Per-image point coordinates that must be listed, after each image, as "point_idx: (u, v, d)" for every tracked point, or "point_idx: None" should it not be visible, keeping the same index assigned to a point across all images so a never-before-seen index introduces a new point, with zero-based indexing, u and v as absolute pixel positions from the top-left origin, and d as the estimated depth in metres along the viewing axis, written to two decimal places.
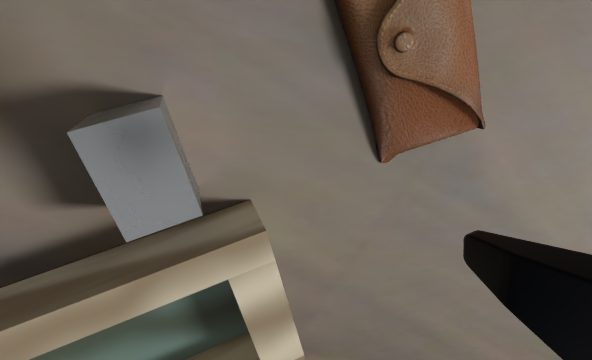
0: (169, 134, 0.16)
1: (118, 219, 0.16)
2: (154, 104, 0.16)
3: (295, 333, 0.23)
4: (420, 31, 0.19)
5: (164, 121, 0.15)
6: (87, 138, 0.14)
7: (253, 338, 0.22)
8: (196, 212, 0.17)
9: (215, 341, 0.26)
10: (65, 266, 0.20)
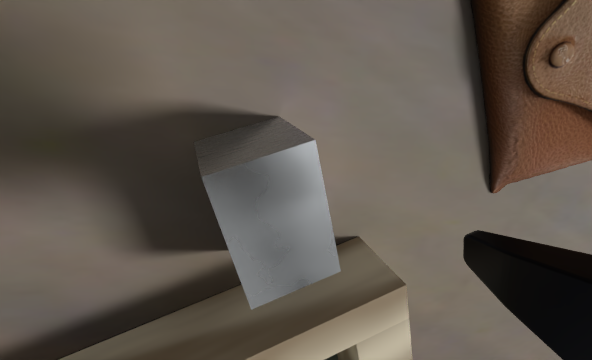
0: (320, 174, 0.12)
1: (246, 283, 0.12)
2: (294, 133, 0.12)
3: None
4: (583, 42, 0.16)
5: (317, 158, 0.12)
6: (224, 183, 0.11)
7: None
8: (334, 268, 0.14)
9: None
10: (149, 324, 0.16)
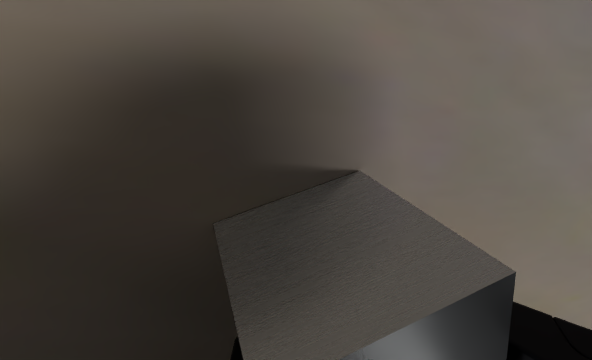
0: (506, 335, 0.05)
1: None
2: (432, 233, 0.06)
3: None
4: None
5: (507, 305, 0.05)
6: None
7: None
8: None
9: None
10: None
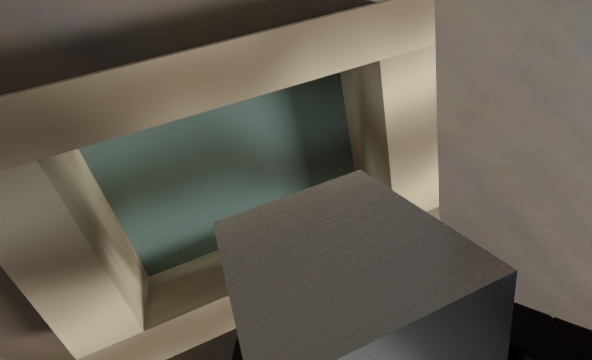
0: (507, 334, 0.05)
1: None
2: (433, 231, 0.06)
3: (436, 170, 0.18)
4: None
5: (509, 304, 0.05)
6: None
7: (391, 166, 0.17)
8: None
9: None
10: None
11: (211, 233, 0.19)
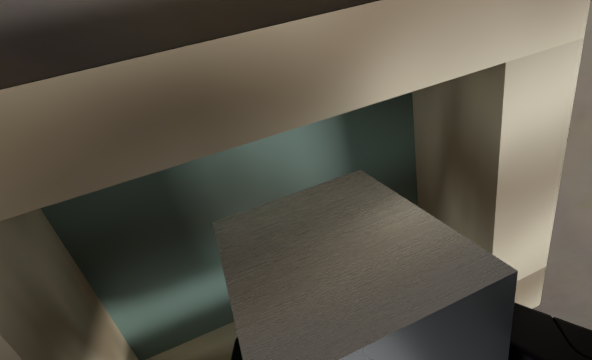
0: (508, 335, 0.05)
1: None
2: (433, 231, 0.06)
3: (551, 219, 0.13)
4: None
5: (509, 304, 0.05)
6: None
7: (497, 218, 0.11)
8: None
9: None
10: None
11: (227, 300, 0.14)
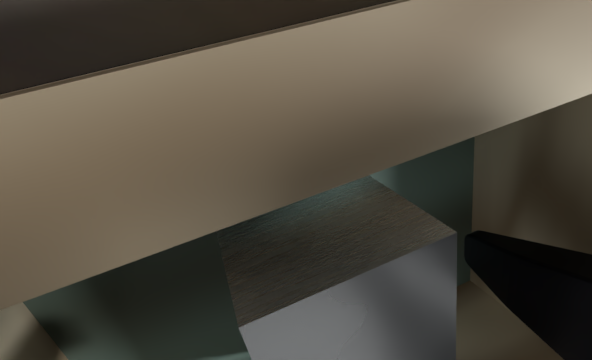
0: (454, 289, 0.06)
1: None
2: (396, 205, 0.07)
3: None
4: None
5: (453, 262, 0.06)
6: (284, 331, 0.05)
7: None
8: None
9: None
10: None
11: None
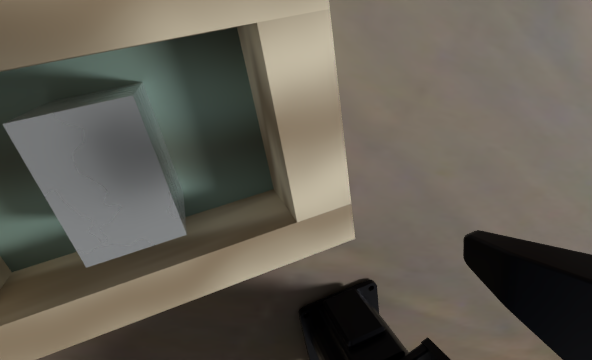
0: (145, 131, 0.12)
1: (75, 239, 0.12)
2: (127, 92, 0.12)
3: (343, 161, 0.16)
4: None
5: (139, 114, 0.12)
6: (32, 133, 0.11)
7: (285, 153, 0.14)
8: (178, 231, 0.14)
9: (222, 197, 0.19)
10: None
11: None
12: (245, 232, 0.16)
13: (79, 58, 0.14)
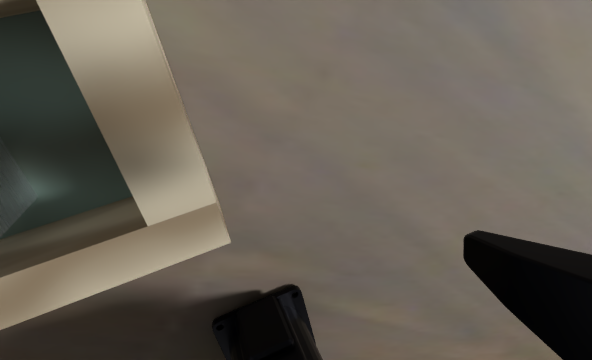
0: None
1: None
2: None
3: (194, 153, 0.13)
4: None
5: None
6: None
7: (111, 146, 0.12)
8: None
9: (89, 200, 0.17)
10: None
11: None
12: (89, 239, 0.14)
13: None
